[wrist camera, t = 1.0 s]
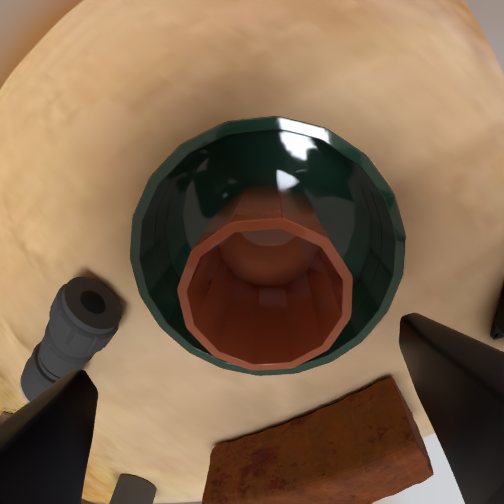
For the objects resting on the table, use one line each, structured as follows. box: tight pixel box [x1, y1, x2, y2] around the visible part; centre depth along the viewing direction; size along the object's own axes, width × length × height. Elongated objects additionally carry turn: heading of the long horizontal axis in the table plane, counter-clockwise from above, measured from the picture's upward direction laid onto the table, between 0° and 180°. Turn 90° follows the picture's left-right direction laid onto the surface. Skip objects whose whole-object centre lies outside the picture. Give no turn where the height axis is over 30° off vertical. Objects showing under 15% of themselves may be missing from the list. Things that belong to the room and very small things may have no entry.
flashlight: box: [20, 277, 121, 403], centre depth 22 cm, size 15×5×5 cm, turn 139°
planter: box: [130, 116, 406, 376], centre depth 18 cm, size 14×14×5 cm
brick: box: [202, 378, 433, 504], centre depth 23 cm, size 20×8×8 cm, turn 124°
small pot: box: [177, 183, 353, 371], centre depth 16 cm, size 7×7×8 cm
